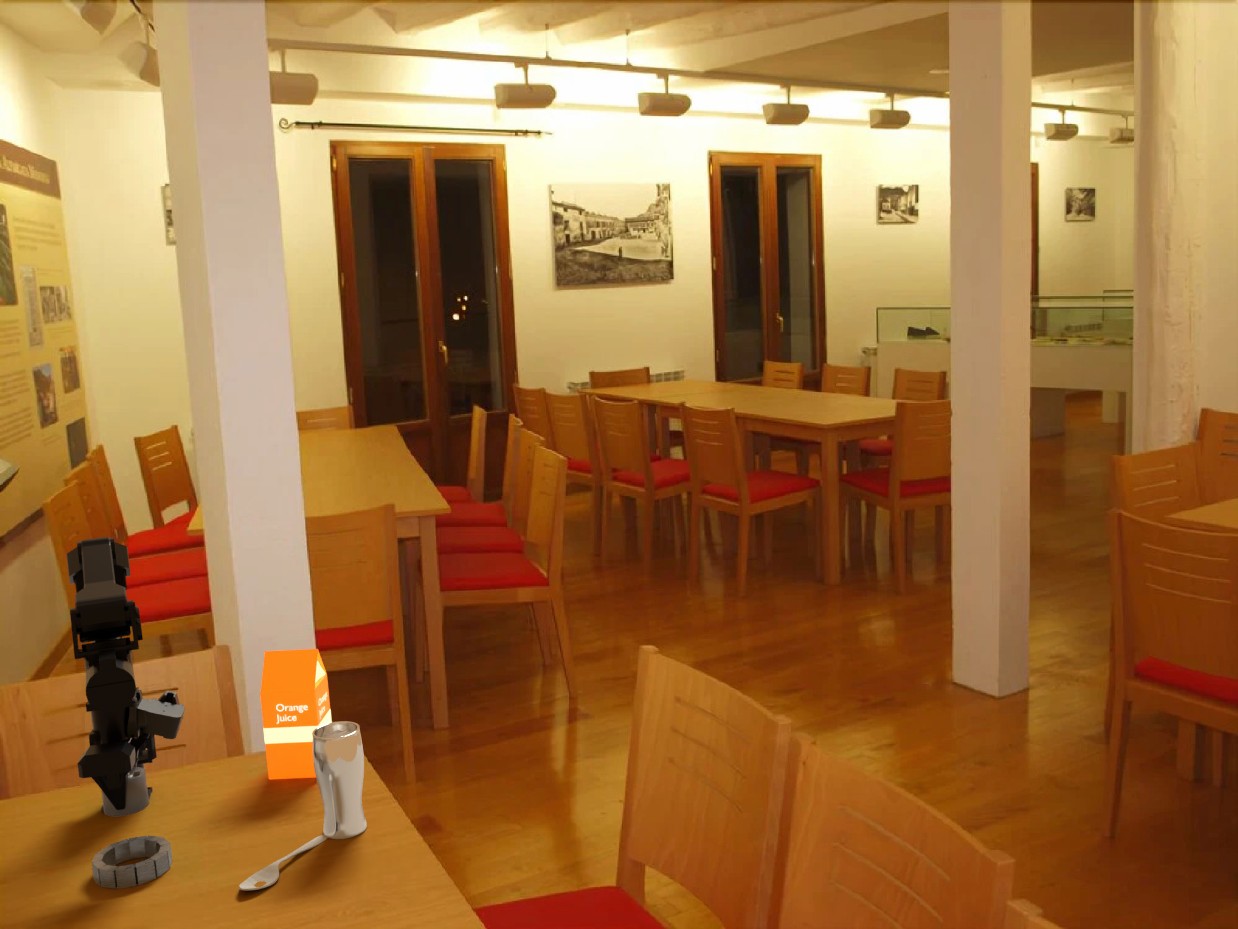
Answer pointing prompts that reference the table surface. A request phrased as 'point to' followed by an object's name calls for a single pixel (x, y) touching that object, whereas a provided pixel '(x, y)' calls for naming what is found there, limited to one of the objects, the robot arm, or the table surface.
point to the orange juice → (293, 710)
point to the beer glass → (340, 777)
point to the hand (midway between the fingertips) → (125, 800)
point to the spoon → (276, 867)
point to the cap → (130, 795)
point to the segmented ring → (134, 873)
